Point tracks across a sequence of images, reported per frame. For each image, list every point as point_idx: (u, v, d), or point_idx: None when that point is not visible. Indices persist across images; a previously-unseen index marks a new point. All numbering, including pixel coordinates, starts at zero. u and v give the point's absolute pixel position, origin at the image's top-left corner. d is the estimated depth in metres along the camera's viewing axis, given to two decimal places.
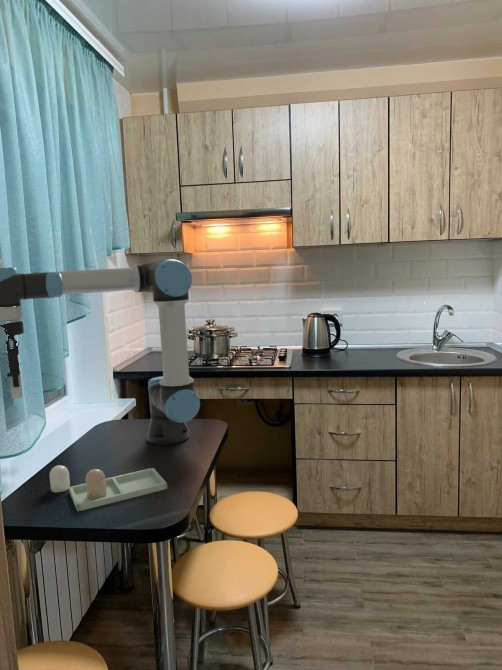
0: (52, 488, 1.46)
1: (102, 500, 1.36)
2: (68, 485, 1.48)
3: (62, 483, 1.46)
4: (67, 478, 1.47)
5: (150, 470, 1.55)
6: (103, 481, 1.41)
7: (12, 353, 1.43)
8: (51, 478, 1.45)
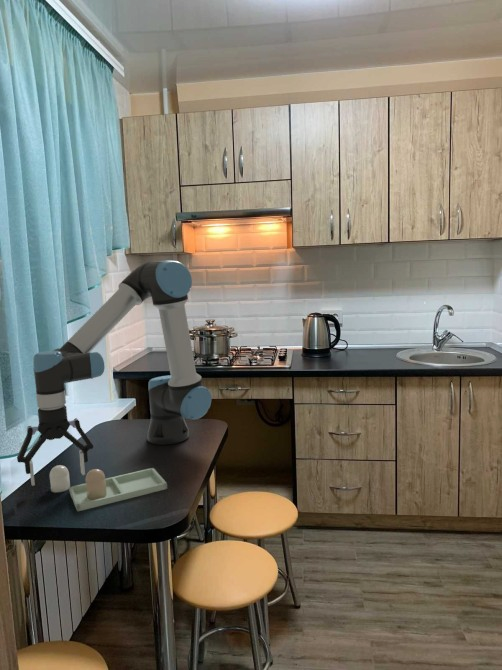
0: (52, 488, 1.46)
1: (102, 500, 1.36)
2: (68, 485, 1.48)
3: (62, 483, 1.46)
4: (67, 478, 1.47)
5: (150, 470, 1.55)
6: (103, 481, 1.41)
7: (25, 440, 1.42)
8: (51, 478, 1.45)
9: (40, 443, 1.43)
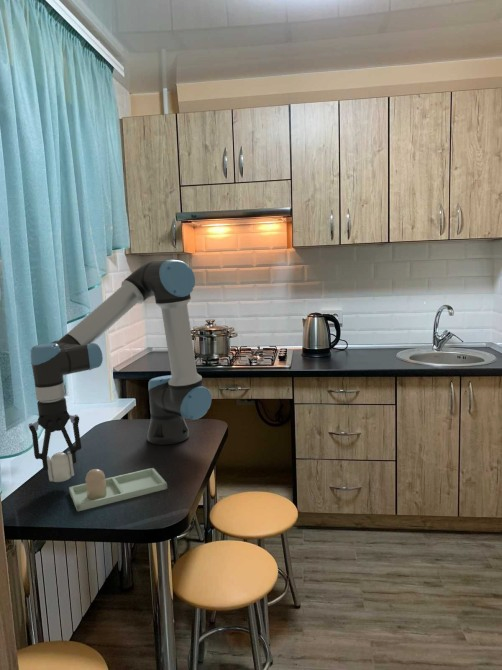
0: (53, 475, 1.46)
1: (102, 500, 1.36)
2: (69, 472, 1.47)
3: (62, 470, 1.46)
4: (67, 465, 1.47)
5: (150, 470, 1.55)
6: (103, 481, 1.41)
7: (32, 437, 1.43)
8: (51, 465, 1.45)
9: (47, 437, 1.44)
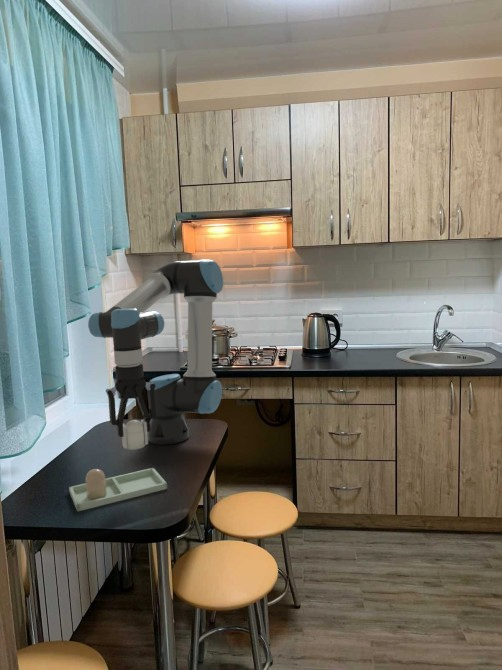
0: (128, 442, 1.43)
1: (102, 500, 1.36)
2: (143, 440, 1.45)
3: (138, 437, 1.43)
4: (142, 433, 1.44)
5: (150, 470, 1.55)
6: (103, 481, 1.41)
7: (109, 403, 1.41)
8: (127, 431, 1.43)
9: (124, 403, 1.42)
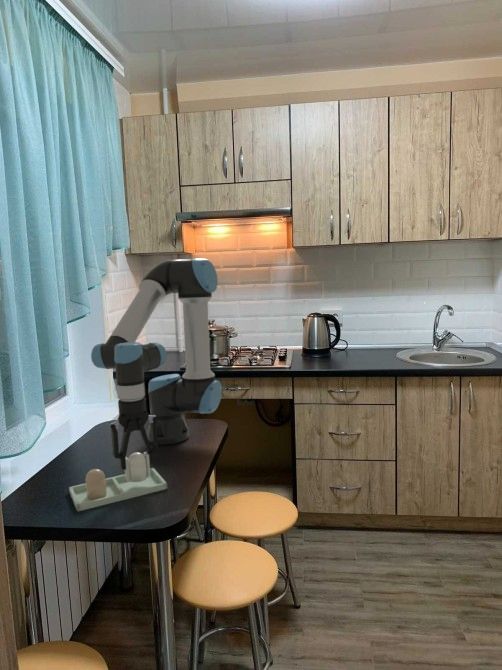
0: (130, 475, 1.45)
1: (102, 500, 1.36)
2: (146, 472, 1.46)
3: (140, 470, 1.44)
4: (145, 465, 1.46)
5: (150, 470, 1.55)
6: (103, 481, 1.41)
7: (112, 436, 1.42)
8: (129, 464, 1.44)
9: (127, 437, 1.43)
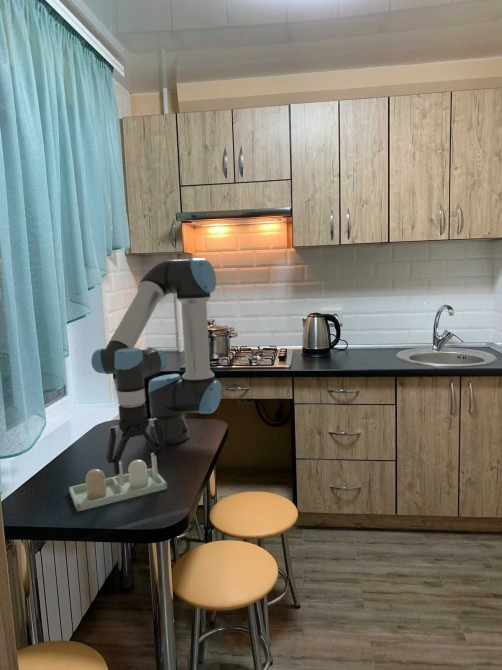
0: (131, 482, 1.45)
1: (102, 500, 1.36)
2: (147, 479, 1.47)
3: (141, 477, 1.45)
4: (146, 472, 1.46)
5: (150, 470, 1.55)
6: (103, 481, 1.41)
7: (109, 440, 1.42)
8: (130, 472, 1.45)
9: (125, 442, 1.43)
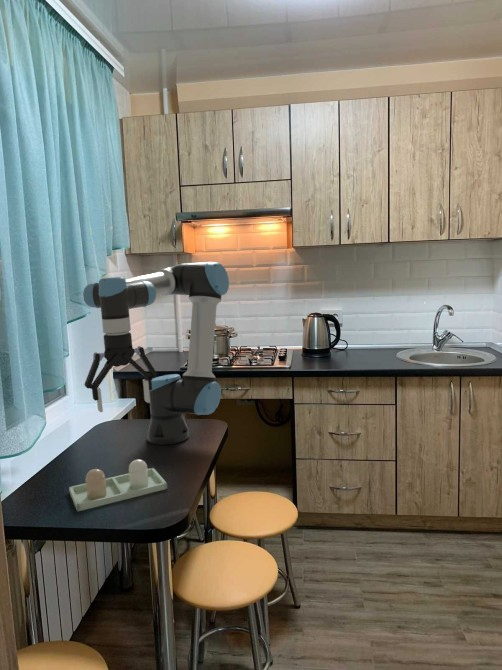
0: (132, 482, 1.45)
1: (102, 500, 1.36)
2: (147, 479, 1.47)
3: (142, 477, 1.45)
4: (146, 472, 1.46)
5: (150, 470, 1.55)
6: (103, 481, 1.41)
7: (92, 366, 1.41)
8: (131, 471, 1.45)
9: (107, 369, 1.42)
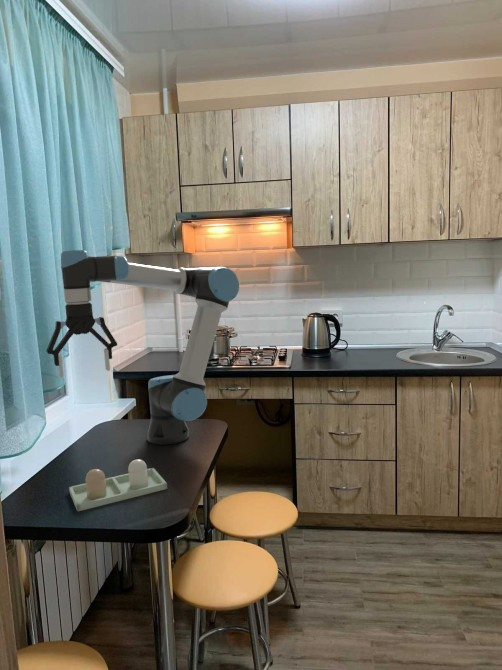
0: (132, 482, 1.45)
1: (102, 500, 1.36)
2: (147, 479, 1.47)
3: (142, 477, 1.45)
4: (146, 472, 1.46)
5: (150, 470, 1.55)
6: (103, 481, 1.41)
7: (53, 333, 1.50)
8: (131, 472, 1.45)
9: (68, 337, 1.51)
